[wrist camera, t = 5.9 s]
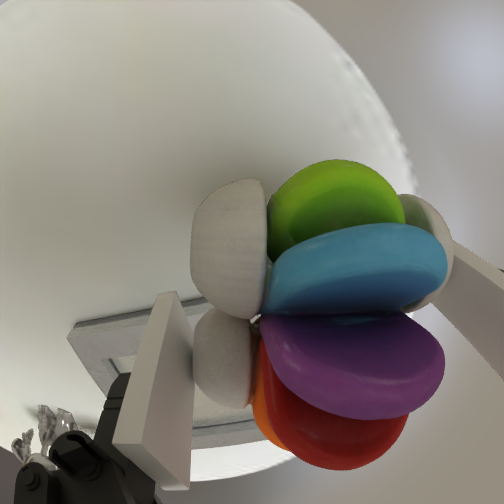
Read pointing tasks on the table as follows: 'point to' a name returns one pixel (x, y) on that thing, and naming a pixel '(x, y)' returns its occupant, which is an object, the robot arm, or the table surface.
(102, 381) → the plate
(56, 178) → the table surface
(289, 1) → the table surface
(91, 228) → the table surface
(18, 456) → the robot toy
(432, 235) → the colorful rounded-lobe toy
